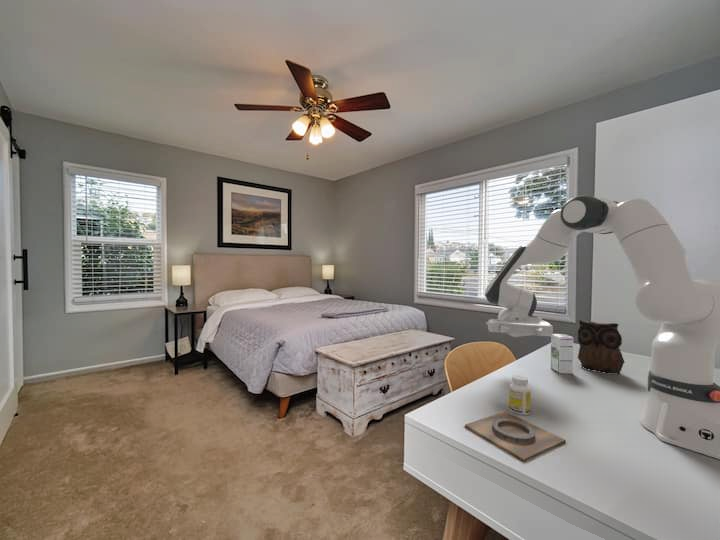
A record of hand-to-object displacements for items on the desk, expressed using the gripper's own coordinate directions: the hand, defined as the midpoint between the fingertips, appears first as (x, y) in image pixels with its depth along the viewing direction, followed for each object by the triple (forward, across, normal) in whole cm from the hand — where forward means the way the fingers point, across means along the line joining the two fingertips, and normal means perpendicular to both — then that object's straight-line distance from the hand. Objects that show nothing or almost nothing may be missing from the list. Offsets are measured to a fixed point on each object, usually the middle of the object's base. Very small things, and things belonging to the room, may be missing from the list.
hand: (523, 332), depth 101 cm
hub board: (+29, -8, +20) cm, 36 cm away
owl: (-38, +37, +20) cm, 57 cm away
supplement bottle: (+15, -4, +20) cm, 25 cm away
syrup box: (-29, +20, +20) cm, 41 cm away
